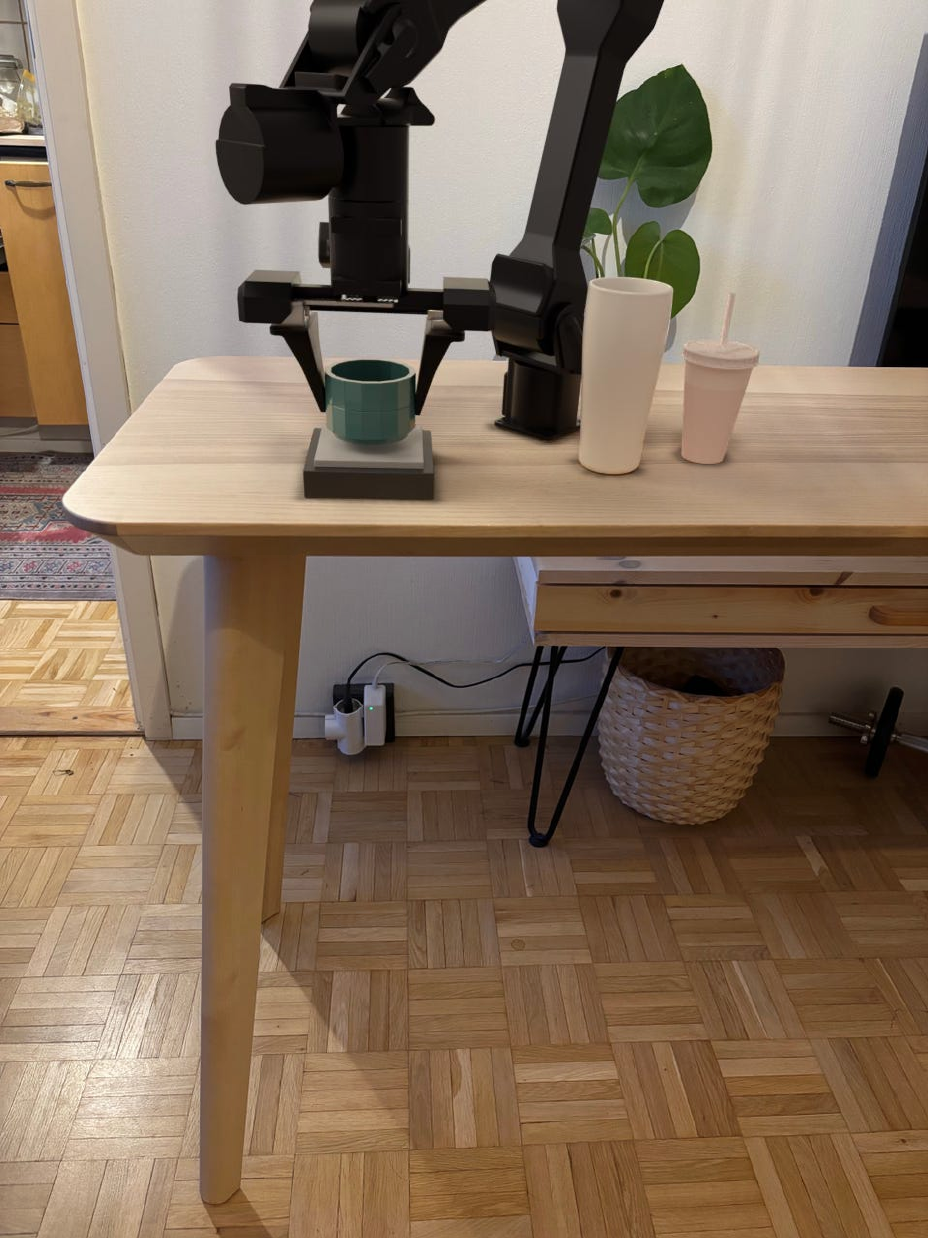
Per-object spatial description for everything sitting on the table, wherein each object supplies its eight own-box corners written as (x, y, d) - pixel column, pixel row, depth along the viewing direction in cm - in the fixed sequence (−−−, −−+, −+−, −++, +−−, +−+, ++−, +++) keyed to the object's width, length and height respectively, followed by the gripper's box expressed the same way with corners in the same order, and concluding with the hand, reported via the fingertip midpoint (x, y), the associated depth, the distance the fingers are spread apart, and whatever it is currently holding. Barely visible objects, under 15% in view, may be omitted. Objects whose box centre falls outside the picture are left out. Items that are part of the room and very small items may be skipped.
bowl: (432, 432, 75) (433, 370, 72) (372, 454, 70) (371, 389, 67) (369, 412, 78) (369, 353, 76) (308, 432, 74) (305, 369, 71)
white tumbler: (644, 454, 83) (670, 279, 75) (650, 482, 77) (679, 295, 69) (569, 449, 83) (587, 274, 76) (569, 476, 77) (588, 290, 70)
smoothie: (741, 450, 85) (773, 291, 78) (735, 474, 79) (769, 306, 72) (671, 440, 86) (696, 283, 79) (661, 462, 81) (687, 297, 74)
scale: (430, 454, 80) (431, 423, 79) (433, 499, 72) (434, 465, 70) (315, 452, 80) (313, 420, 78) (304, 497, 71) (302, 463, 70)
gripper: (494, 190, 73) (484, 386, 81) (255, 180, 72) (269, 379, 80) (502, 208, 63) (490, 429, 71) (227, 197, 62) (245, 421, 70)
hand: (371, 412), depth 73 cm, fingers closed on bowl, 7 cm apart
